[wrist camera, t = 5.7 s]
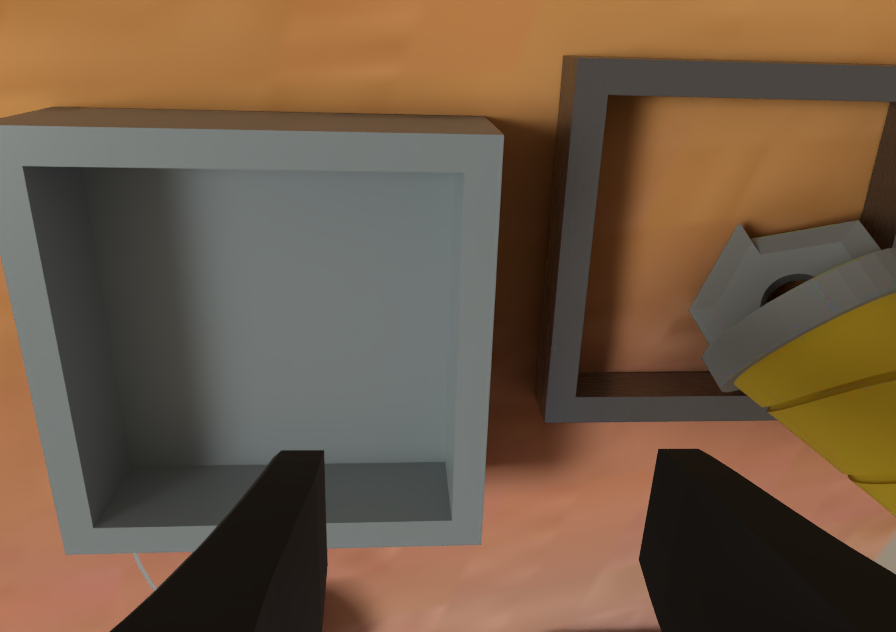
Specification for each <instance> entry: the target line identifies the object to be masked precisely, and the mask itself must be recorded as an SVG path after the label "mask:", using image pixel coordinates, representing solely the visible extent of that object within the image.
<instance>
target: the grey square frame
mask: <svg viewBox="0 0 896 632" xmlns="http://www.w3.org/2000/svg"><path fill="white" fill-rule="evenodd" d="M608 95H633V96H675V97H717V98H759V99H801V100H842V101H884V102H890V105H889V109H888V113H887V117H886V121H885V125H884V129H883V133H882V137H881V141H880V145H879V149H878V153H877V157H876V161H875V165H874V169H873V173H872V177H871V181H870V185H869V189H868V193H867V197H866V201H865V205H864V209H863V212H862V216H861V220H860V222H861V224H862V225H863V226H864V228H865V229H866V230H867V232H868V233H869V234H870V236H871V237H872V238H873V240H874V241H875V242H876V243H877V245H878V246H879V247H880V249H881V250H884V249H887V248H896V65H886V64H850V63H814V62H779V61H743V60H707V59H671V58H636V57H600V56H564V55H563V66H562V78H561V90H560V102H559V114H558V126H557V138H556V150H555V162H554V173H553V185H552V197H551V209H550V221H549V233H548V245H547V257H546V269H545V281H544V293H543V305H542V317H541V329H540V341H539V353H538V365H537V377H536V389H535V399H536V401H537V404H538V407H539V409H540V412H541V415H542V417H543V420H544V422H545V423H577V422H667V421H757V420H777V419H775V418H774V417H773V416H772V415H771V414H769V413H768V412H767V409H768V408H769V407H770V406H768V407H761V406H760V405H758V404H757V403H756V402H755V401H753V400H752V399H751V398H750V397H748V396H747V395H746V394H745V393H744V392H742V391H741V390H736V391H732V392H722V391H721V389H720V388H719V386H718V384H717V383H716V381H715V379H714V378H713V376H712V374H711V373H710V372H643V373H578V370H579V360H580V351H581V342H582V332H583V323H584V314H585V305H586V295H587V286H588V277H589V267H590V258H591V249H592V240H593V230H594V221H595V212H596V202H597V193H598V184H599V175H600V165H601V156H602V147H603V137H604V128H605V119H606V110H607V100H608Z"/></svg>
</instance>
